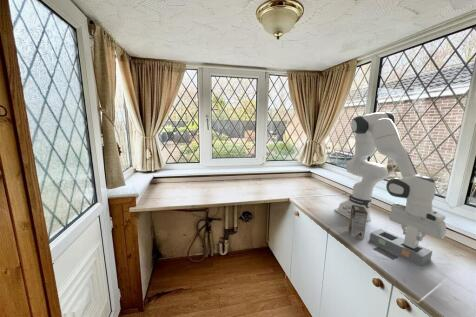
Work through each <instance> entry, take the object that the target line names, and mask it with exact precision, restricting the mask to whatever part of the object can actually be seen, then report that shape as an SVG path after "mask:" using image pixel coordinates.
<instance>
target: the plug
mask: <svg viewBox="0 0 476 317" xmlns="http://www.w3.org/2000/svg"><path fill="white" fill-rule="evenodd" d="M417 236H421V232H419V231H418V229H417V228H415V227H412V226H410V225H407V227H406V234H405V235H404V239H405V240H404V244H405V245H407V246H409V247H411V248H413V249H414V248H416V247H418V245H419V243H420V241H419V240H417Z"/></svg>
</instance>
